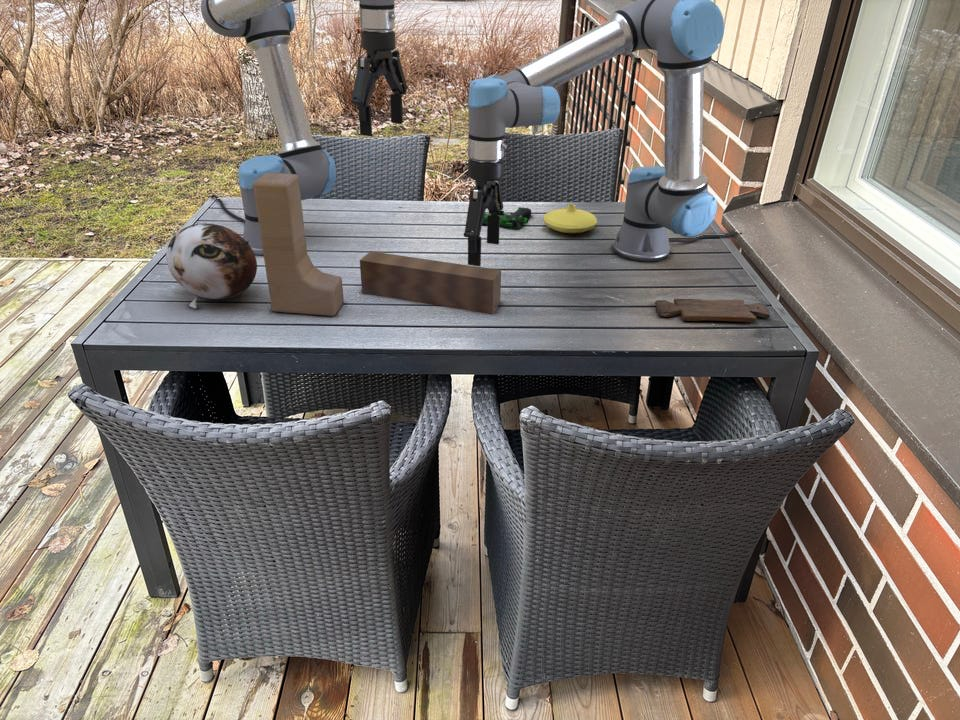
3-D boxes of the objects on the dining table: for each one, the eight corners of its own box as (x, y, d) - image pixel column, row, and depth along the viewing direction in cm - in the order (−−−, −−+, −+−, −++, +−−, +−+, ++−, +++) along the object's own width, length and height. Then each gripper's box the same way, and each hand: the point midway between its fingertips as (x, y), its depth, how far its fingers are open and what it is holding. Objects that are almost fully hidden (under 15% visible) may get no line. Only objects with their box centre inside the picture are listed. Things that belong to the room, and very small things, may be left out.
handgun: (537, 208, 218) (520, 221, 206) (536, 217, 220) (520, 231, 208) (488, 201, 224) (469, 214, 212) (488, 211, 225) (469, 224, 213)
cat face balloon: (130, 285, 161) (164, 203, 163) (192, 308, 177) (221, 233, 178) (195, 307, 151) (229, 220, 152) (254, 330, 166) (285, 250, 168)
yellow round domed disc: (559, 216, 220) (561, 193, 217) (605, 227, 212) (608, 204, 209) (532, 230, 209) (533, 207, 206) (580, 242, 201) (582, 218, 198)
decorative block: (334, 317, 160) (321, 185, 145) (271, 312, 162) (251, 181, 147) (344, 302, 167) (333, 175, 151) (283, 298, 168) (265, 171, 153)
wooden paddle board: (775, 325, 161) (761, 305, 169) (777, 318, 160) (763, 299, 168) (660, 321, 161) (652, 301, 169) (661, 314, 160) (653, 295, 169)
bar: (362, 292, 172) (359, 260, 168) (372, 283, 177) (370, 251, 172) (492, 313, 163) (493, 280, 159) (500, 303, 168) (501, 270, 164)
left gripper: (361, 37, 145) (366, 143, 156) (420, 25, 165) (421, 120, 176) (330, 34, 148) (337, 138, 159) (392, 22, 167) (395, 116, 178)
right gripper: (484, 176, 138) (482, 277, 148) (519, 146, 158) (515, 237, 169) (448, 172, 140) (448, 272, 150) (487, 142, 160) (485, 232, 171)
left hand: (382, 129), depth 167 cm, fingers open, 13 cm apart
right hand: (483, 253), depth 160 cm, fingers open, 13 cm apart
